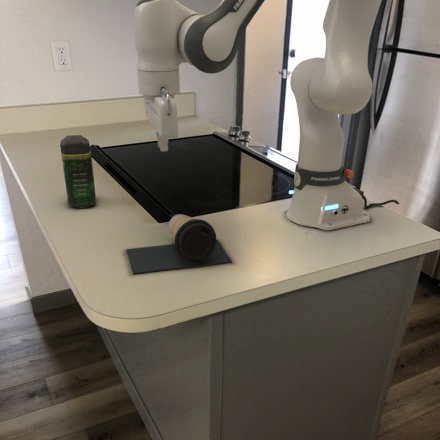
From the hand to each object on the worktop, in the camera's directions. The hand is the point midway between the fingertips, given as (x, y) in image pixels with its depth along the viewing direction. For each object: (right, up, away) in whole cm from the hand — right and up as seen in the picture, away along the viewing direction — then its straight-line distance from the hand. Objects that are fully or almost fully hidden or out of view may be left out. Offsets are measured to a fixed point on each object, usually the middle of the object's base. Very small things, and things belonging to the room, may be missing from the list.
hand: (163, 149), depth 111 cm
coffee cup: (+3, -16, +7) cm, 18 cm away
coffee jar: (-27, -7, +29) cm, 40 cm away
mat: (+3, -24, +1) cm, 25 cm away
